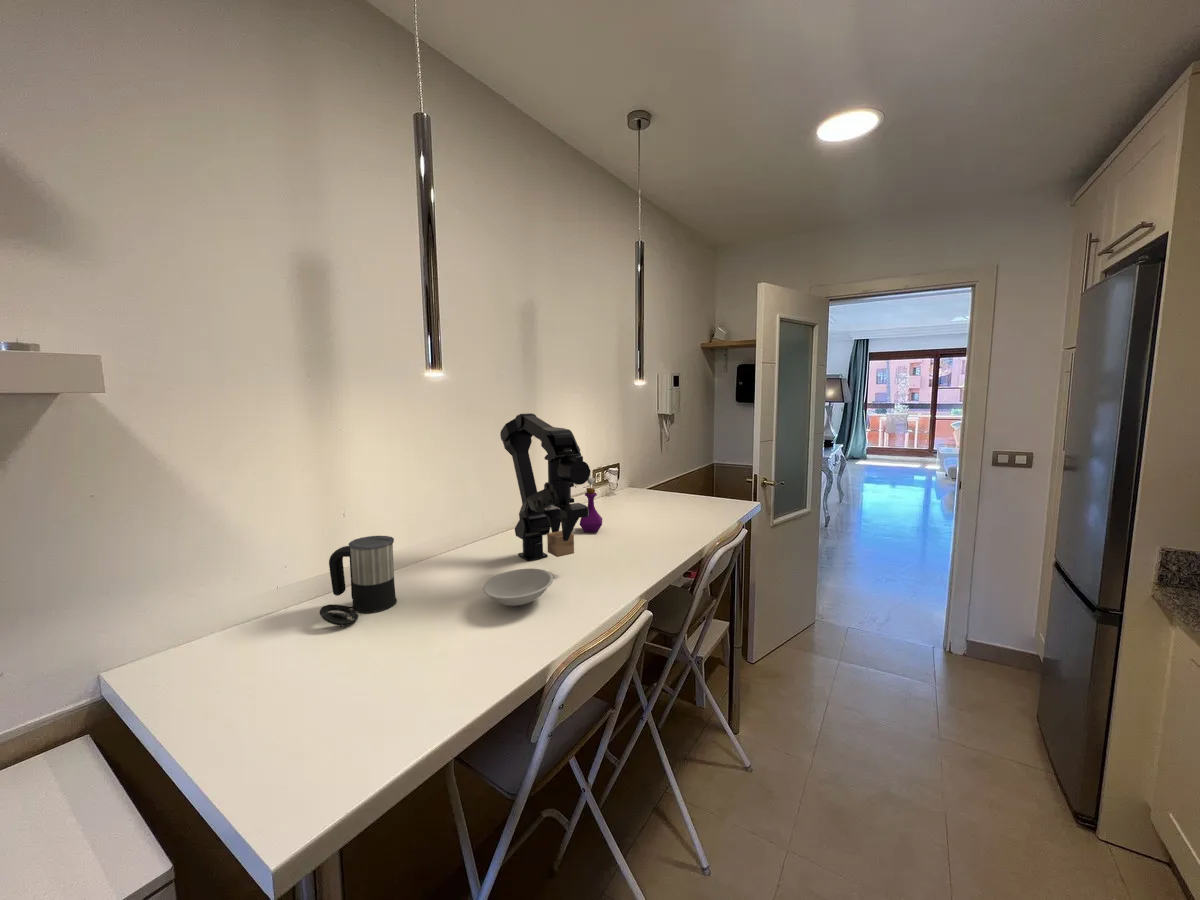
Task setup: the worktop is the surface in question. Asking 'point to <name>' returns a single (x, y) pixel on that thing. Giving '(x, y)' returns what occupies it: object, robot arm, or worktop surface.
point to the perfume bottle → (591, 512)
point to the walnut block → (560, 544)
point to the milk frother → (362, 578)
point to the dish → (518, 586)
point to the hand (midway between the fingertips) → (560, 538)
